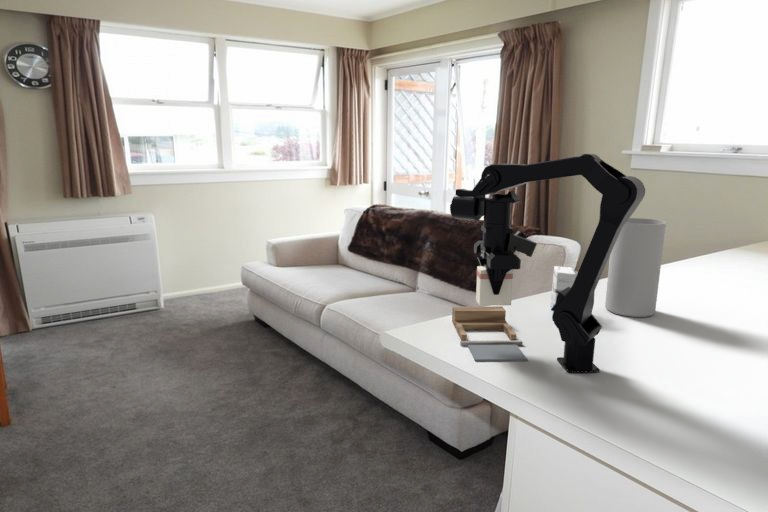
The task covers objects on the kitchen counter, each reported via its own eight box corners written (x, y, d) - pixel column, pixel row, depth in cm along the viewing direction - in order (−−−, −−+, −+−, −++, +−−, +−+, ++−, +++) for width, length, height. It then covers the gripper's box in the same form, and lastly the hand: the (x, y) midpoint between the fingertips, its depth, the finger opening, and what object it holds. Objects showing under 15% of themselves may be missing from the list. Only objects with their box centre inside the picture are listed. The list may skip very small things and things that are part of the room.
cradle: (522, 345, 115) (523, 328, 115) (461, 345, 115) (461, 329, 114) (503, 321, 132) (504, 306, 131) (449, 321, 131) (450, 306, 130)
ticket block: (511, 305, 112) (513, 270, 111) (479, 305, 112) (480, 270, 110) (506, 300, 116) (508, 265, 115) (475, 300, 116) (476, 266, 114)
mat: (527, 360, 107) (527, 358, 107) (475, 361, 107) (475, 359, 107) (516, 346, 115) (516, 344, 115) (468, 346, 115) (468, 344, 114)
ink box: (573, 316, 135) (576, 273, 133) (553, 315, 136) (556, 272, 134) (568, 307, 143) (571, 266, 141) (550, 306, 144) (553, 265, 142)
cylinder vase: (653, 307, 143) (664, 219, 138) (656, 320, 132) (667, 225, 127) (605, 302, 148) (613, 216, 143) (604, 314, 137) (613, 222, 132)
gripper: (548, 228, 101) (543, 304, 105) (521, 216, 120) (518, 281, 123) (492, 229, 101) (489, 304, 104) (474, 217, 120) (472, 281, 123)
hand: (493, 291), depth 114 cm, fingers closed on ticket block, 4 cm apart
